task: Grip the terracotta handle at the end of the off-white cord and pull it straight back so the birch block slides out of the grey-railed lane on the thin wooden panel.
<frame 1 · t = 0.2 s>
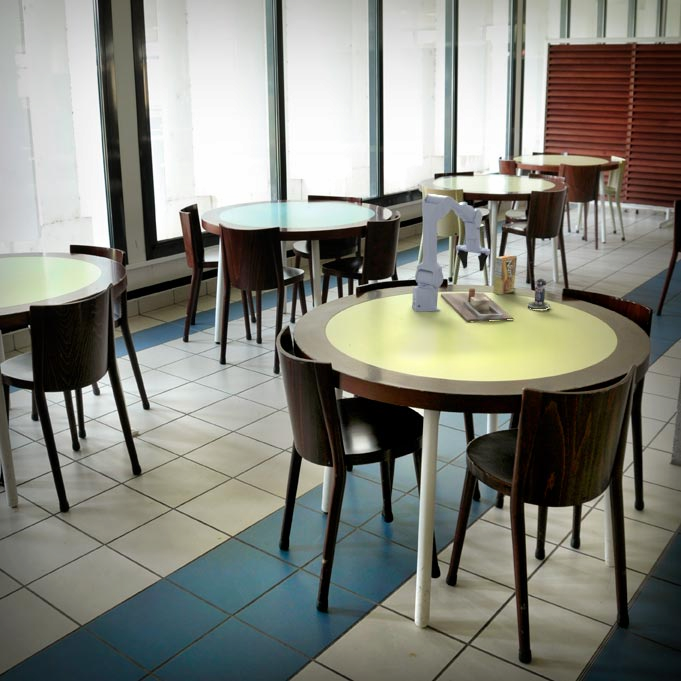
hand: (473, 269, 348), 11 cm above the table, tool pointing down, fingers open, 7 cm apart
candy box: (503, 292, 354), on the table
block: (476, 299, 330), point 4 cm above the table, slide at 0.0 cm
figurine: (538, 308, 332), on the table
thin wooden panel: (479, 311, 326), on the table
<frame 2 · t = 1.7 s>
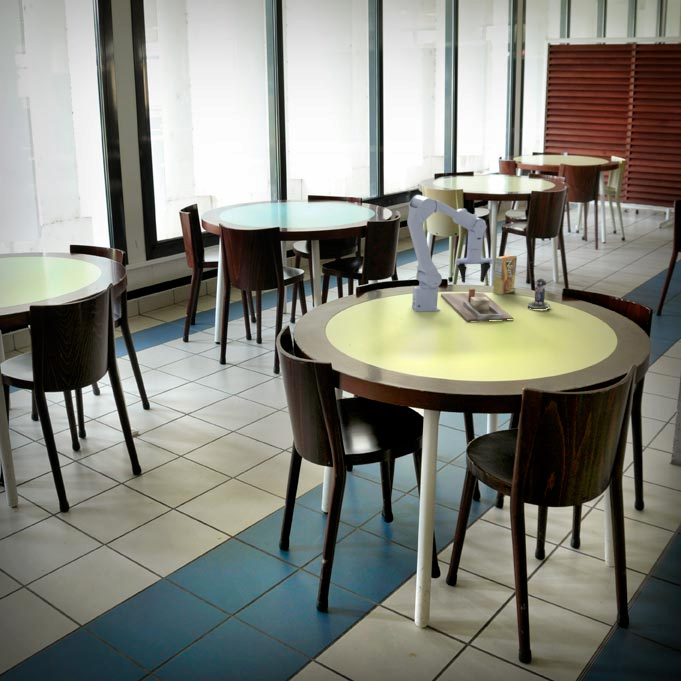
hand: (472, 281, 333), 9 cm above the table, tool pointing down, fingers open, 7 cm apart
nothing on the table moved.
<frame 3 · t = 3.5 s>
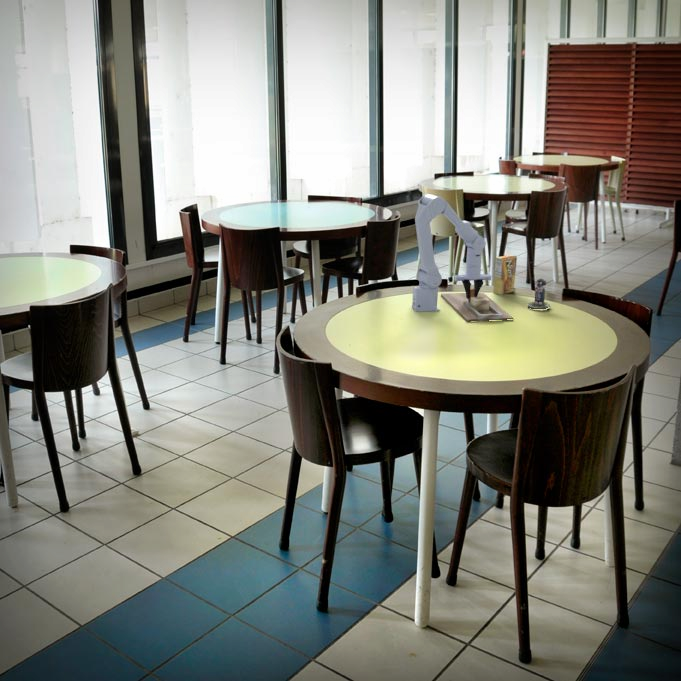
hand: (471, 298, 336), 2 cm above the table, tool pointing down, fingers closed on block, 2 cm apart
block: (476, 299, 330), point 4 cm above the table, slide at 0.0 cm, touching gripper
everything else where it was.
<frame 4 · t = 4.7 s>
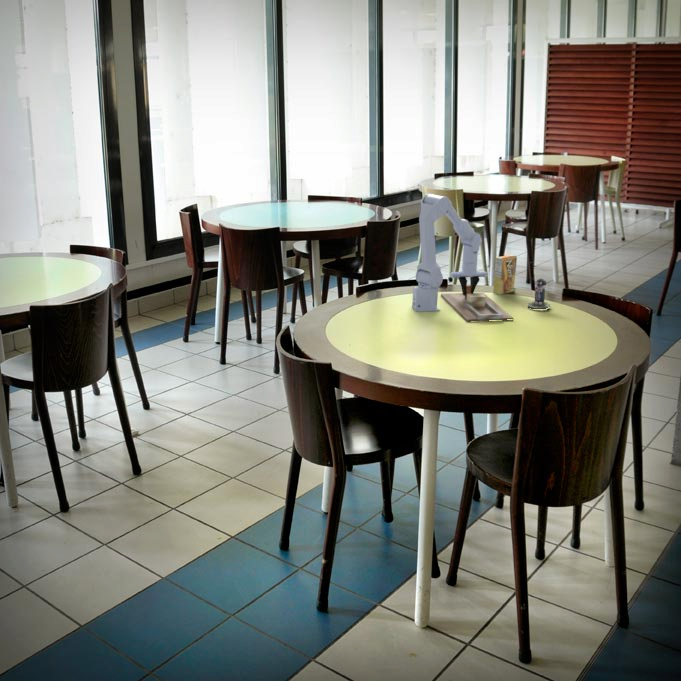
hand: (467, 294, 340), 2 cm above the table, tool pointing down, fingers closed on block, 2 cm apart
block: (472, 295, 334), point 4 cm above the table, slide at 4.9 cm, touching gripper
everything else where it was.
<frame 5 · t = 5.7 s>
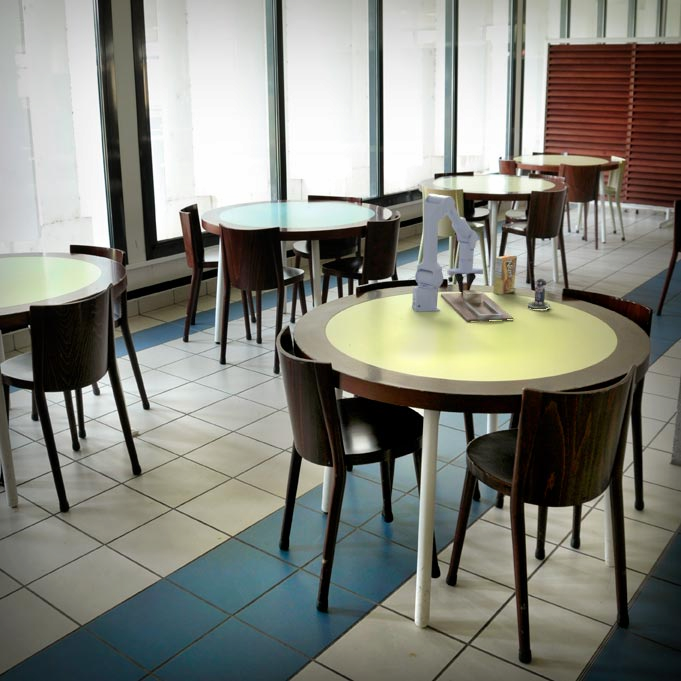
hand: (464, 291, 345), 2 cm above the table, tool pointing down, fingers closed on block, 2 cm apart
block: (468, 292, 339), point 4 cm above the table, slide at 9.8 cm, touching gripper
everything else where it was.
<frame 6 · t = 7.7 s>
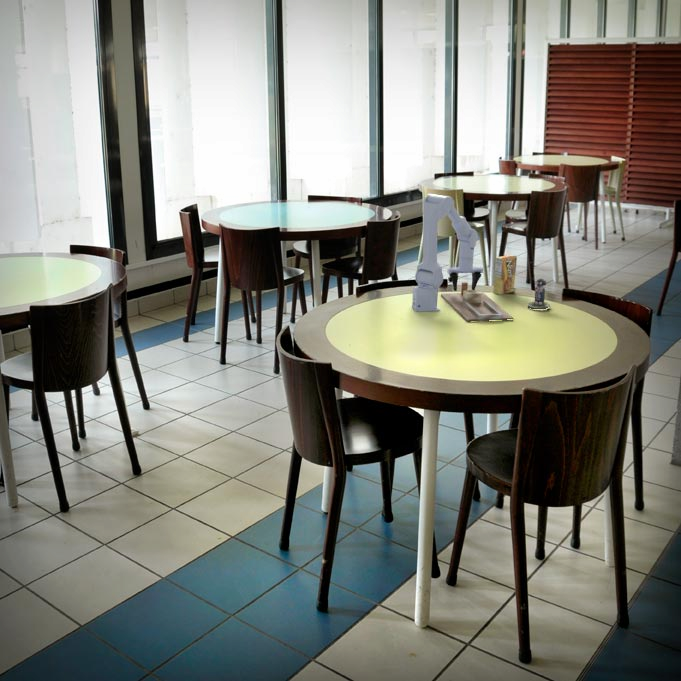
hand: (464, 290, 345), 3 cm above the table, tool pointing down, fingers open, 7 cm apart
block: (468, 292, 339), point 4 cm above the table, slide at 9.8 cm
everything else where it was.
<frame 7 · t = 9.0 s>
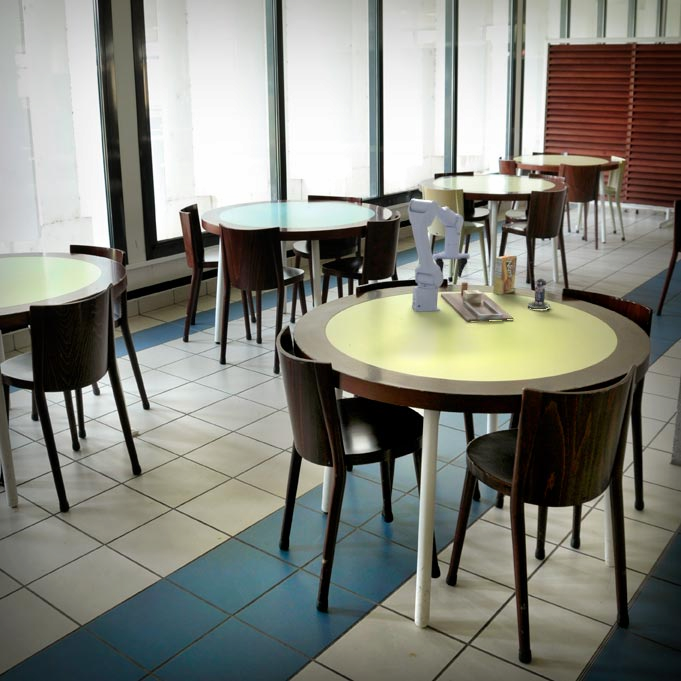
hand: (450, 276, 339), 9 cm above the table, tool pointing down, fingers open, 7 cm apart
nothing on the table moved.
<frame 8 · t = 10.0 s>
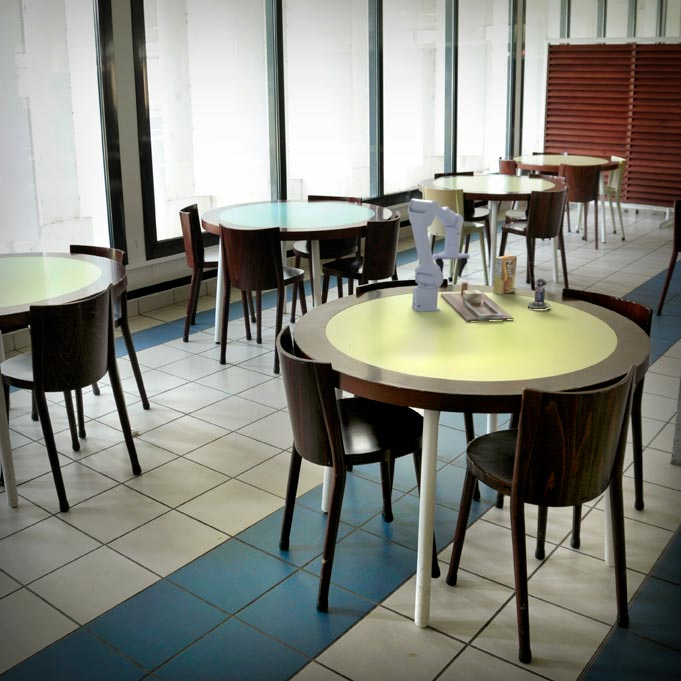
hand: (450, 276, 339), 9 cm above the table, tool pointing down, fingers open, 7 cm apart
nothing on the table moved.
at the end: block slide at 9.8 cm; the gripper is holding nothing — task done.
